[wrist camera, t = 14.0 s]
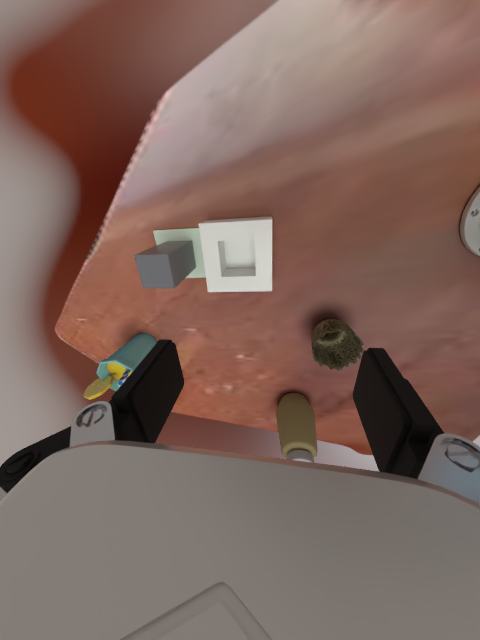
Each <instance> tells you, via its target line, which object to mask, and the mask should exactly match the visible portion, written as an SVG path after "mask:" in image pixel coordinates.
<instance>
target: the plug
mask: <svg viewBox="0 0 480 640" xmlns="http://www.w3.org/2000/svg"><path fill="white" fill-rule="evenodd" d="M134 256H135V260H136V264H137V267H138V271H139V275H140V278H141V282H142V286H143V288H175V287H176V286H177V285H178V284H179V283H180V282H181V281H182V280H184V279H185V278H186V277H187V276H188V275H189V274H190V273H191V272H192V271H193V270H194V269H195V268H196V262H195V256H194V249H193V242H192V240H190V241H166V242H164V243H161V244H159V245H157V246H154V247H152V248H150V249H148V250H145V251H143V252H141V253H138V254H136V255H134Z"/></svg>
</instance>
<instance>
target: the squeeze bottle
mask: <svg viewBox="0 0 480 640" xmlns="http://www.w3.org/2000/svg"><path fill="white" fill-rule="evenodd" d="M276 418H277V425H278V431H279V438H280V445H281V452H282V454H283V455H284V457H286V458H287V459H288V460H296V461H304V462H311V463H314V459H313V458H314V457H315V456H316V455H317V440H316V428H315V415H314V411H313V409H312V407H311V406H310V404H309V403H308V401H307V400H306V398H305V397H304V396H303V395H301V394H298V393H289V394H286V395H284V396H283V397H282V398H281V400H280V403H279V406H278V408H277V411H276Z"/></svg>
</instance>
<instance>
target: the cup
mask: <svg viewBox="0 0 480 640" xmlns="http://www.w3.org/2000/svg"><path fill="white" fill-rule="evenodd" d="M156 343H157V342H156V340H155V338H154V337H152V336H150V335H148V334H147V333H143V334H137V335H136V336H135V337H134V338H132V339H131V340H130V341H129V342H127V343H126V344H125V345H124V346H123V347H121V348H120V349H119V350H118V351H116V352H115V353H114V354H113V355H111V356H110V357H109V358H108V359H104V360H103V361H101V362H100V365H99V368H98V370H97V375H98V376H99V379H96V380H95V381H94V382H93V383H92V384H91V385H89V386H88V387H87V388H86V390H85V392H84V394H83V396H84V397H85V398H87V399H90V400H91V399H93V398H95V397H98V396H100V395H102V394H103V393H104V392H105V391H106V390H107V389H109V388H111V389H113V390H115V391H117V390H118V389H119V388H120V386H121V385H122V384H123V383H124V382H125V380H126V379H127V378H128V377H129V376H130V374H131V373H132V372H133V371H134V370H135V368H136V367H137V366H138V365H139V364H140V362H141V361H142V360H143V359H144V358H145V356H146V355H147V354H148V353H149V352H150V350H151V349H152V348H153V347H154V346H155V344H156Z"/></svg>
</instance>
